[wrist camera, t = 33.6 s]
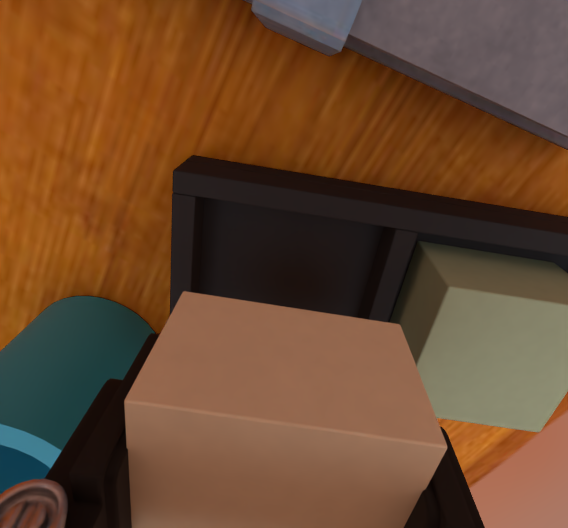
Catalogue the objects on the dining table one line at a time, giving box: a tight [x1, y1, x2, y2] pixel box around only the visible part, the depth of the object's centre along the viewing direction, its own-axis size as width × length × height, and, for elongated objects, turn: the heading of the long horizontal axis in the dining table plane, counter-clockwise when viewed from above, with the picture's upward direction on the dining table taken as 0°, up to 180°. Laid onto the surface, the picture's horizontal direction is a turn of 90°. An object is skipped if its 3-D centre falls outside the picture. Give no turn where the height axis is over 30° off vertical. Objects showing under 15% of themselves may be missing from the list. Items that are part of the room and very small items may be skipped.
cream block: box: [124, 291, 447, 528], centre depth 9 cm, size 6×6×4 cm
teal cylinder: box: [0, 296, 155, 494], centre depth 18 cm, size 6×12×7 cm, turn 160°
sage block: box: [389, 241, 568, 432], centre depth 15 cm, size 6×6×4 cm
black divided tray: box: [170, 155, 568, 323], centre depth 16 cm, size 16×9×2 cm, turn 81°
